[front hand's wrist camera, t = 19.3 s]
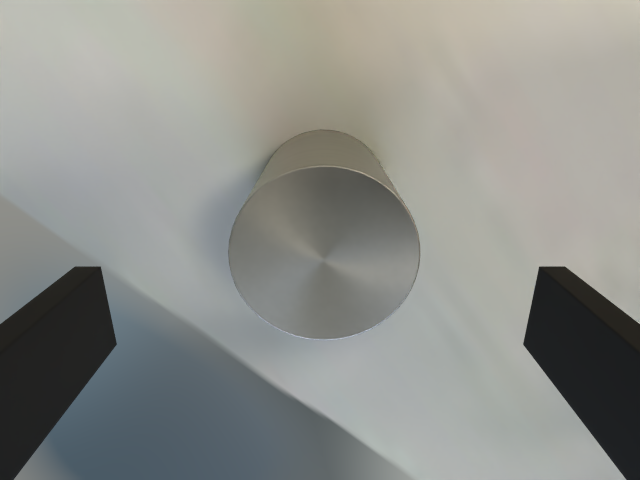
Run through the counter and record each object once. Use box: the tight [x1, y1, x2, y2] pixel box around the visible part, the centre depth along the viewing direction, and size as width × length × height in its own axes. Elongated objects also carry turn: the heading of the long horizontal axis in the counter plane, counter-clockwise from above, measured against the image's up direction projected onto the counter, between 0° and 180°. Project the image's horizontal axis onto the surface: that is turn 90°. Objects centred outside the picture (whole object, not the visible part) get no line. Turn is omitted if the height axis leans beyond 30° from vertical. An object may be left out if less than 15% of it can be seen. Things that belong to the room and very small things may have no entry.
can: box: [228, 130, 420, 340], centre depth 20 cm, size 7×7×9 cm
